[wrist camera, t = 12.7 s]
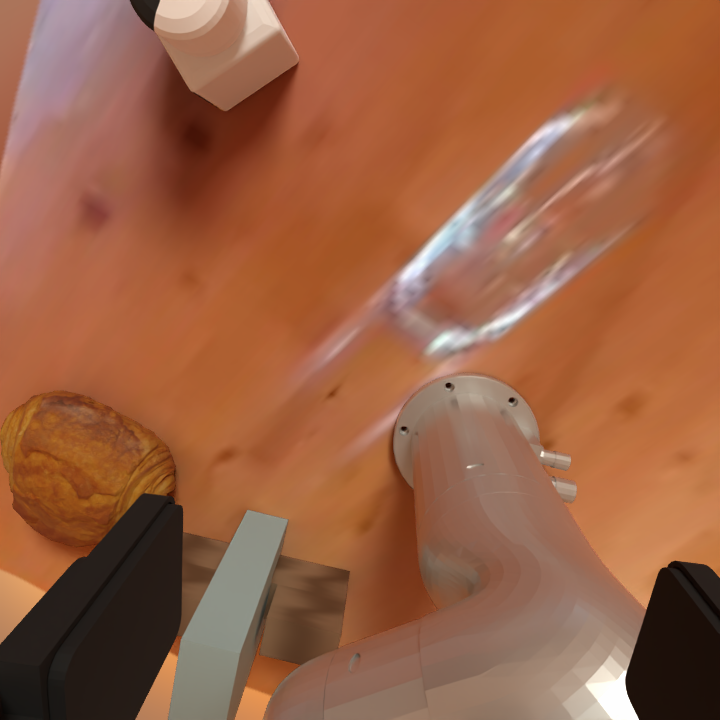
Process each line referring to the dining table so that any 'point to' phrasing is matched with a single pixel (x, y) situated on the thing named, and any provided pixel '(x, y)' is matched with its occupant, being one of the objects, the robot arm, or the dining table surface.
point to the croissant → (79, 465)
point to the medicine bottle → (221, 45)
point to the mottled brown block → (276, 600)
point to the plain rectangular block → (228, 624)
